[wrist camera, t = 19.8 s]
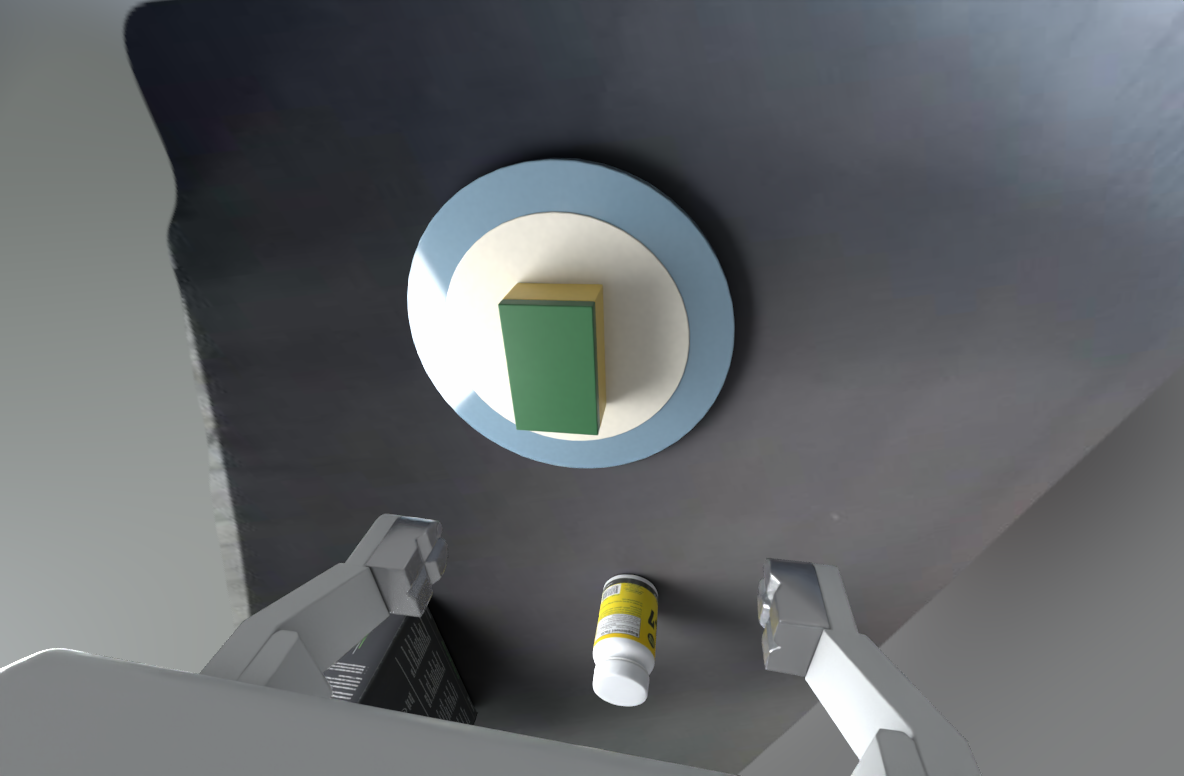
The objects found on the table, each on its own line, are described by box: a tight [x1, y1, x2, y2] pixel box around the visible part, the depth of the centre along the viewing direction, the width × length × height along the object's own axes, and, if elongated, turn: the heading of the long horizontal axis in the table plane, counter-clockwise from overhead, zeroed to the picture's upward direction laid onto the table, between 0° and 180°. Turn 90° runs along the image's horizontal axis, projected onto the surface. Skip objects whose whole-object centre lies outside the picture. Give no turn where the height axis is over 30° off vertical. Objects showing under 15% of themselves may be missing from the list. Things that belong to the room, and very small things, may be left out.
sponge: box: [498, 283, 606, 435], centre depth 28 cm, size 8×5×3 cm, turn 3°
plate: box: [407, 157, 735, 468], centre depth 30 cm, size 20×20×1 cm
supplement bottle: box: [593, 574, 658, 706], centre depth 38 cm, size 5×5×8 cm
